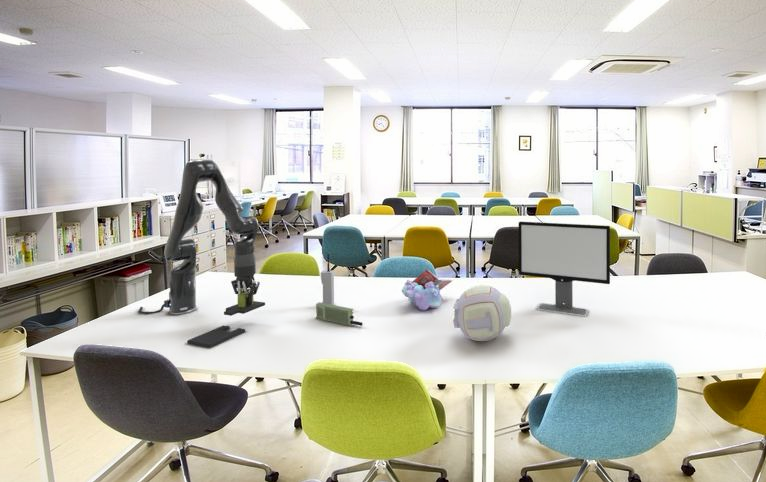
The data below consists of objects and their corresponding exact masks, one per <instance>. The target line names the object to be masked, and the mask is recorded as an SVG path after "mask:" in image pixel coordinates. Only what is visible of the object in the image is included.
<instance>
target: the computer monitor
mask: <svg viewBox="0 0 766 482" xmlns="http://www.w3.org/2000/svg"><path fill="white" fill-rule="evenodd" d="M518 276H527V277H535V278H545V279H552V280H553V281H555V282H554V285H555V287H554V288H555V293H554V295H555V296H554V297H555V300H554V301H555V304H553V303H545V302H542V303H539V304H538V305H537V310H539V311H542V312H550V313H555V314H564V315H571V316H578V317H586V316H588V309H587V308H583V307H576V306H573V301H574V300H573V282H584V283H594V284H604V285H610V283H611V226H610V225H604V224H603V225H601V224H600V225H599V224H580V223H578V224H577V223H559V222H540V221H539V222H538V221H537V222H536V221H519V222H518Z"/></svg>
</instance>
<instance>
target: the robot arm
mask: <svg viewBox="0 0 766 482" xmlns="http://www.w3.org/2000/svg"><path fill="white" fill-rule="evenodd" d="M202 182H211V183H212V185H213V186H214V189H215V195H214V200H215V204H216V206H217V208H218V209H219V210H220V212H221V213H222V215H223V216H224V217H225V218H224V219H225V221H226V225H227V227H228V229H229V231H230V232H231V233H232V234H234V235H242V236H241V238H239V239H237V240H236V241H235V242H234V259H233V266H234V267H233V273H234V275H233V276H234V277H235V279H234V280H231V281H230V283H231V286H232V289H233V292H234V294H235V295H238V294H241V293H244V292H245V294H246V306H249V305H251V304H252V295H253V296H255V295H257V293H258V290H259V288H260V284H261V282H260V281H256V279H255V274H256V273H257V270H256V265H257V264H256V254H255V251H256V250H255V242H256V238H257V235H258V231H259V220H258V219H257V217H256V216H254V215H246V216H245V215H244V216H240V215H241V214H243V212H244V211H243V210H244V207H243V206H242V204H241V203H240V202H239V201H238V199H237V198H236V197H235V195H234V194H233V192H232V191H231V189H230V187H229V185H228V183H227V180H226V179H225V177H224V175H223V173H222V171H221V169H220V167H219V166H218V164H217V163H216V162H215V161H213V160H211V159H198V160H189V161H188V162H186V163H185V165H184V167H183V171H182V178H181V187H180V193H179V198H178V202H177V205H176V208H175V212H174V218H173V222H172V226H171V229H170V233H169V235H168V238H167V241H166V243H165V246H164V252H163V255H164V259H165V260H166V261H167V262H179V261H182V262H181V263H180V264H178V265H177V266H174V267H173V268H171V269H170V270H169V291H168V299H166V300H164V301H163V304H162V305H161V306H160V309H158V310H154V311H142V310H143V309H144V307H143V306H139V309H138V314H143V315H150V314H151V315H152V314H158V313H160V312H162V311H163V310H164V308H168V309H169V314H170V315H171V316H172V315H173V316H178V315H184V314H189V313H192V312H194V311H196V310H197V289H196V286H197V285H196V283H197V282H196V280H197V279H196V268H197V251H198V249H197V243H196V241H195V239H193V238H185V239H183V238H184V236H186V235H187V233H189V231H191V230H192V229H193V228H194V227H196V225H197V224H198V223H199V222H200V220H201V218H202V214H203V210H204V203H203V202H202V200H201V199H200V197H199V195H198V194H197V186H198V184H199V183H202ZM248 291H250V293H249V292H248Z"/></svg>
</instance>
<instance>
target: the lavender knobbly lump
mask: <svg viewBox="0 0 766 482" xmlns="http://www.w3.org/2000/svg"><path fill="white" fill-rule="evenodd" d="M453 281H454V280H451V279H439V277H438V276H436V275H435V274H434V273H433V272H432V271H430V270H429V269H426V270H424V271H423V272H422V273H421V274H420V275H418V276H417V277H416V278H414V279H413V280H411V279H407V280H406V282H405V283H404V286H403V287H402V289H401V293H402V294H403V295H404V297H406V298H408V300H409V302H410V303H412V304H413V305H414V306H415V307H417V308H418V309H419V310H421V311H427V310H428V309H429V308H432V309H435V308H438V307H439V306H440V305H441V304H442V301H443V299H442V294H441V290H443V289H444V288H445V287H447V286H448V285H450V283H452V282H453Z"/></svg>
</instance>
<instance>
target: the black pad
mask: <svg viewBox="0 0 766 482" xmlns="http://www.w3.org/2000/svg"><path fill="white" fill-rule="evenodd" d="M248 292H249V293H250V291H248ZM264 306H266V302H265V301H256V300H254V295H252V304H251V305H249V306H246V294H245V292H244V293H241V294H237V303H235V304H233V305H230V306H228V307H226V308H225V310H224V311H223V315H224V316H230V317H232V316H234V315H237V314H242V315H243V314H246V313H247V314H248V313H249V312H252V311H255V310H257V309H259V308H262V307H264Z"/></svg>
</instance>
